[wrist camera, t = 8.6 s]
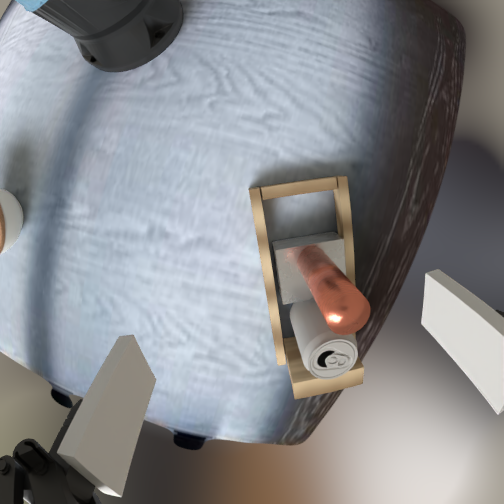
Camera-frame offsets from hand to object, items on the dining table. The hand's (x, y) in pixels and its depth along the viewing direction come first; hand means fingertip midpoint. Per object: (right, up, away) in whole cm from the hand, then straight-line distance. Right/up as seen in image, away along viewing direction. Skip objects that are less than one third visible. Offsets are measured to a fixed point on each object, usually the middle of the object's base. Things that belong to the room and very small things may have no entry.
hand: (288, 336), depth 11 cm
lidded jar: (-41, +10, +23) cm, 48 cm away
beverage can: (+7, -5, +28) cm, 30 cm away
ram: (+6, +2, +26) cm, 26 cm away
